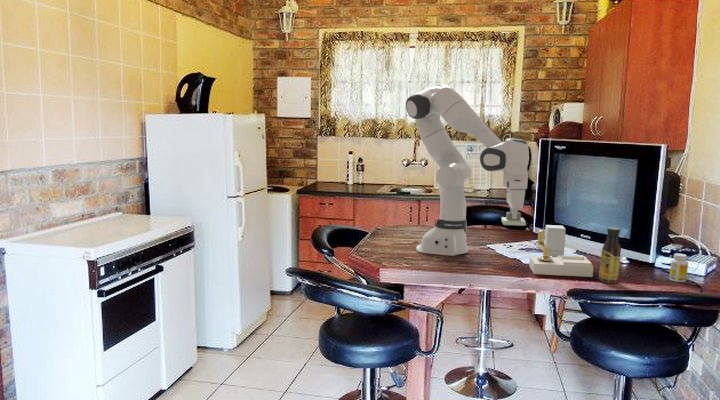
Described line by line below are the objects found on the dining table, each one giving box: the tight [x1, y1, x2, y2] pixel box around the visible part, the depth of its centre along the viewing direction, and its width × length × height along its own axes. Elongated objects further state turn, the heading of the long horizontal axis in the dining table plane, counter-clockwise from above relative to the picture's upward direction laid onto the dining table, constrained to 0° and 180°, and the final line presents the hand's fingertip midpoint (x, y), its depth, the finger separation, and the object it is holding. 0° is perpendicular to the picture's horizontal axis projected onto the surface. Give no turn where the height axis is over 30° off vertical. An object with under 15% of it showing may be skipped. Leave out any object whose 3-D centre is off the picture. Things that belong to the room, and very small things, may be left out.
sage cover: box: [500, 211, 527, 226], centre depth 207 cm, size 8×8×4 cm
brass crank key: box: [537, 229, 551, 262], centre depth 211 cm, size 10×4×10 cm, turn 0°
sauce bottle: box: [598, 226, 622, 285], centre depth 195 cm, size 7×6×20 cm
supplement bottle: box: [668, 253, 689, 283], centre depth 198 cm, size 5×5×10 cm
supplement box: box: [544, 224, 566, 258], centre depth 232 cm, size 7×7×13 cm
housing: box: [528, 255, 594, 278], centre depth 208 cm, size 21×11×5 cm, turn 82°
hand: (513, 217), depth 207 cm, fingers closed on sage cover, 2 cm apart
